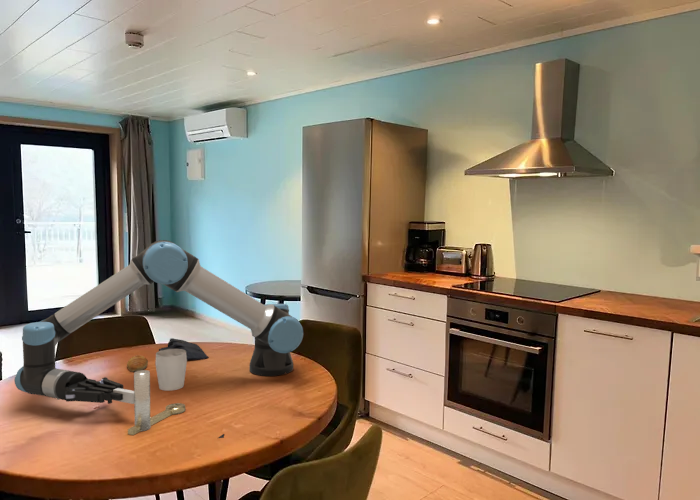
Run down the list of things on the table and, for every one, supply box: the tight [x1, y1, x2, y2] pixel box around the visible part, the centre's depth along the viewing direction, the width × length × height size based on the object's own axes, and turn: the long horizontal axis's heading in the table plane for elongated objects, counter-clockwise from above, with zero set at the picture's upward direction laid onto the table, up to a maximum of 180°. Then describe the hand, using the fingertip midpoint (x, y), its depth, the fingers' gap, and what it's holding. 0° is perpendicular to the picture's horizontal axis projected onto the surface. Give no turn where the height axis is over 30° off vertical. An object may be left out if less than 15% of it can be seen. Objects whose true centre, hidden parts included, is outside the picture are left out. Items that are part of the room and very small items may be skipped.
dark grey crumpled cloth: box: [158, 337, 210, 361], centre depth 197 cm, size 15×22×5 cm
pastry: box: [126, 354, 148, 373], centre depth 179 cm, size 9×7×4 cm
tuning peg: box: [127, 369, 186, 436], centre depth 131 cm, size 18×5×14 cm, turn 159°
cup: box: [154, 349, 188, 392], centre depth 156 cm, size 9×9×12 cm
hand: (135, 397), depth 129 cm, fingers closed
